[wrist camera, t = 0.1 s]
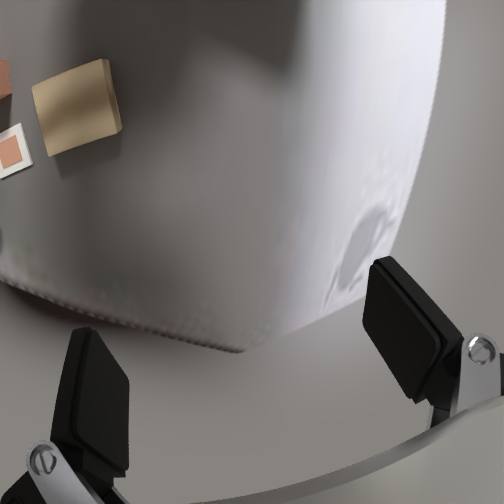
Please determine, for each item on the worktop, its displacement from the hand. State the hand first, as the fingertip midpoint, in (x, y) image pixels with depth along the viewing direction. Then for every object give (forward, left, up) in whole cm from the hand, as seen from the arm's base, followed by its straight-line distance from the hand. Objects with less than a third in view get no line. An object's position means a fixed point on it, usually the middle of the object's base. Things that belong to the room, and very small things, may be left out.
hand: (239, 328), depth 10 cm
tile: (-6, -25, -31) cm, 40 cm away
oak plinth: (-8, -13, -32) cm, 35 cm away
